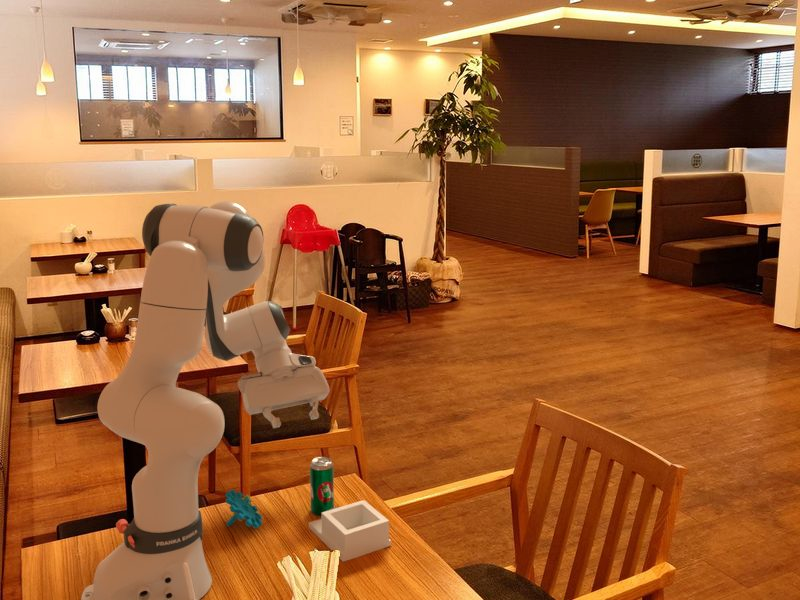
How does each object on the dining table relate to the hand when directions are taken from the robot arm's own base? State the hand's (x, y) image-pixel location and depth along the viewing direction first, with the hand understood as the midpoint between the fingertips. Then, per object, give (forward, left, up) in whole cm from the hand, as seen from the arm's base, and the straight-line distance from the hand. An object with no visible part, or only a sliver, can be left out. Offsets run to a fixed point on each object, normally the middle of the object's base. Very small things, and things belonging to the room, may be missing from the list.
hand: (296, 422), depth 174 cm
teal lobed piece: (-16, -8, -17) cm, 25 cm away
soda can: (0, -12, -17) cm, 21 cm away
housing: (0, -24, -17) cm, 29 cm away
